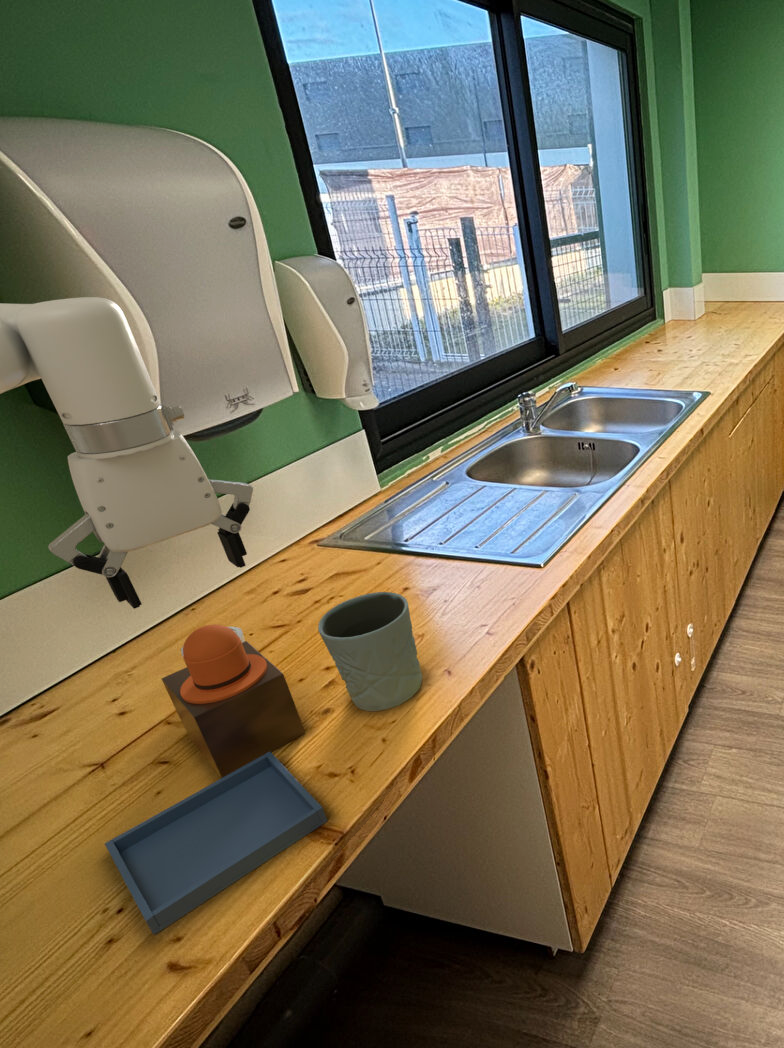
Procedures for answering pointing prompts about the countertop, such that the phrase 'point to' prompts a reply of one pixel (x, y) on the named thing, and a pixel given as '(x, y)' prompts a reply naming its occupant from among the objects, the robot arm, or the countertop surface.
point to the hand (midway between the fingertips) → (188, 582)
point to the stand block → (239, 719)
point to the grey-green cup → (373, 649)
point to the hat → (218, 665)
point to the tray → (213, 839)
